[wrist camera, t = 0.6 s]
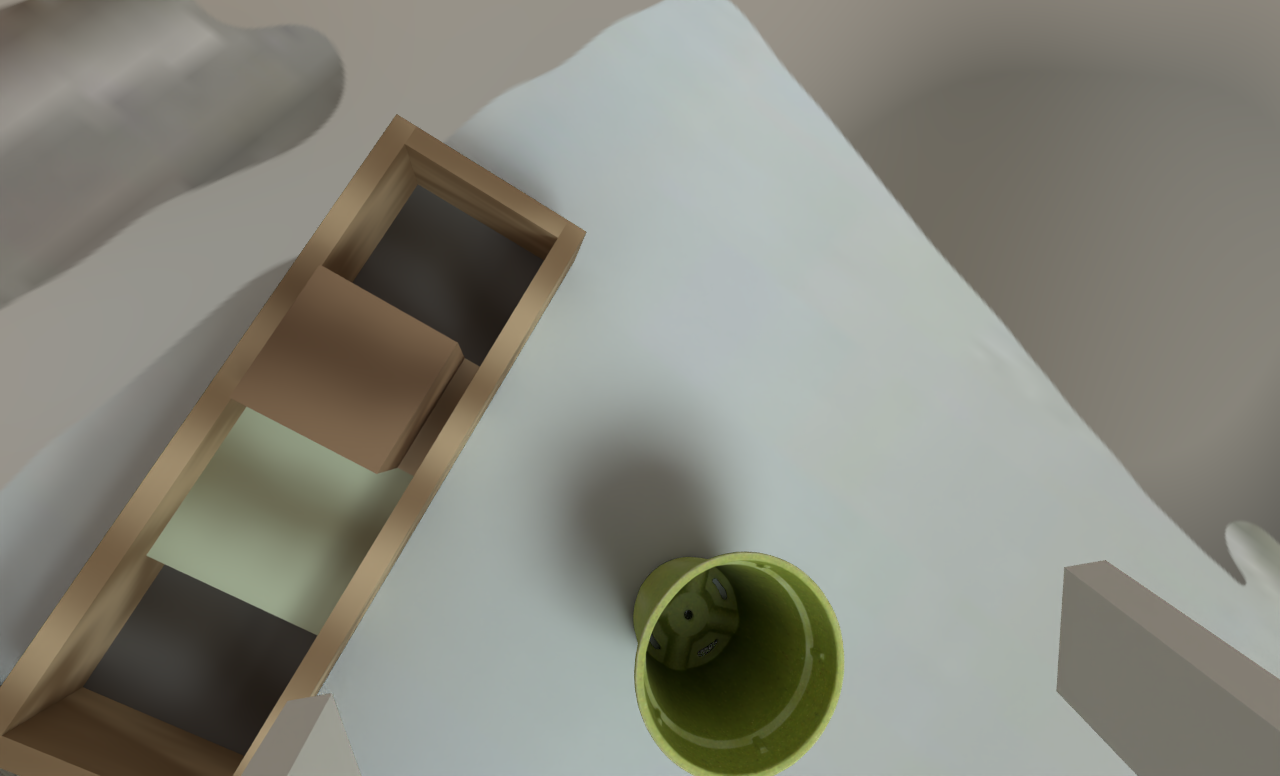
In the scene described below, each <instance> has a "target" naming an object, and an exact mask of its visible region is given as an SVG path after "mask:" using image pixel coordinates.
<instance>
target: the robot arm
mask: <svg viewBox="0 0 1280 776" xmlns="http://www.w3.org/2000/svg"><path fill="white" fill-rule="evenodd" d="M1056 691H1057V692H1058V693H1059V694H1060V695H1061V696H1062V697H1063V698H1064V700H1065V701H1066V702H1067V703H1068V704H1069V705H1070V706H1071V707H1072V708H1073V709H1074V710H1075V711H1076V712H1077V713H1078V714H1079V715H1080V716H1081V717H1082V718H1083V719H1084V720H1085V721H1086V722H1087V723H1088V724H1089V726H1090V727H1091V728H1092V729H1093V730H1094V731H1095V732H1096V733H1097V734H1098V735H1099V736H1100V737H1101V738H1102V739H1103V740H1104V741H1105V742H1106V743H1107V744H1108V745H1109V746H1110V747H1111V748H1112V749H1113V751H1114V752H1115V753H1116V754H1117V755H1118V756H1119V757H1120V758H1121V759H1122V760H1123V761H1124V762H1125V763H1126V764H1127V765H1128V766H1129V767H1130V768H1131V769H1132V770H1133V771H1134V772H1135V773H1136V774H1137V775H1138V776H1280V679H1278V678H1277V677H1275V676H1274V675H1272V674H1271V673H1269V672H1268V671H1266V670H1265V669H1263V668H1262V667H1261V666H1259V665H1258V664H1256V663H1255V662H1253V661H1252V660H1250V659H1249V658H1247V657H1246V656H1245V655H1243V654H1242V653H1240V652H1239V651H1237V650H1236V649H1234V648H1233V647H1231V646H1230V645H1228V644H1227V643H1226V642H1224V641H1223V640H1221V639H1220V638H1218V637H1217V636H1215V635H1214V634H1212V633H1211V632H1209V631H1208V630H1207V629H1205V628H1204V627H1202V626H1201V625H1199V624H1198V623H1196V622H1195V621H1193V620H1192V619H1191V618H1189V617H1188V616H1186V615H1185V614H1183V613H1182V612H1180V611H1179V610H1177V609H1176V608H1174V607H1173V606H1172V605H1170V604H1169V603H1167V602H1166V601H1164V600H1163V599H1161V598H1160V597H1158V596H1157V595H1155V594H1154V593H1153V592H1151V591H1150V590H1148V589H1147V588H1145V587H1144V586H1142V585H1141V584H1139V583H1138V582H1137V581H1135V580H1134V579H1132V578H1131V577H1129V576H1128V575H1126V574H1125V573H1123V572H1122V571H1120V570H1119V569H1118V568H1116V567H1115V566H1113V565H1112V564H1110V563H1109V562H1107V561H1106V560H1104V561H1098V562H1093V563H1087V564H1081V565H1075V566H1069V567H1064V580H1063V596H1062V612H1061V627H1060V643H1059V659H1058V675H1057V690H1056ZM241 776H361V773H360V770H359V768H358V765H357V762H356V759H355V756H354V754H353V751H352V748H351V745H350V743H349V740H348V737H347V734H346V731H345V729H344V726H343V723H342V720H341V717H340V715H339V712H338V709H337V706H336V703H335V701H334V698H333V695H332V693H331V694H325V695H319V696H313V697H307V698H301V699H296V700H290V701H287V703H286V704H285V706H284V707H283V709H282V711H281V712H280V714H279V715H278V717H277V719H276V720H275V722H274V723H273V725H272V727H271V728H270V730H269V732H268V733H267V735H266V736H265V738H264V740H263V741H262V743H261V744H260V746H259V748H258V749H257V751H256V752H255V754H254V756H253V757H252V759H251V760H250V762H249V764H248V765H247V767H246V768H245V770H244V772H243V773H242V775H241Z"/></svg>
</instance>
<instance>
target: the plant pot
mask: <svg viewBox="0 0 1280 776" xmlns="http://www.w3.org/2000/svg"><path fill="white" fill-rule="evenodd" d="M713 579H718V581H719V582H720V584H721V586H722V587H724V588H725V590H726V593H727V598H726V600H724V599H722V597H721V594H720V593H719V590H718V589H717V587H716V586H715V584H714V583H713V582H712V581H713ZM687 610H690V611H691V612H692V614H693V616H692V618H691V619H689V620H688V619H686V618H685V617H684V613H685V611H687ZM633 623H634V629H635V633H636V638H637V642H638V647H637V652H636V658H635V670H634V680H635V692H636V697H637V702H638V706H639V710H640V713H641V716H642V718H643V721H644V723H645V725H646V728H647V730H648V731H649V733H650V735H651V737H652V738H653V740H654V741H655V743H656V744H657V745H658V747H659V748H660V749H661V751H662V752H663V753H664V754H665V755H666V756H667V757H668V758H669V759H670V760H671V761H672V762H674V763H675V764H676V765H678V766H679V767H680V768H682V769H683V770H685V771H687V772H688V773H690V774H692V775H694V776H774V775H776V774H778V773H780V772H781V771H783V770H785V769H787V768H789V767H790V766H792V765H793V764H795V763H796V762H797V761H798V760H799V759H800V758H801V757H802V756H803V755H804V754H805V753H806V752H807V751H808V750H809V749H810V748H811V747H812V746H813V745H814V744H815V743H816V741H817V740H818V739H819V738H820V736H821V735H822V733H823V732H824V730H825V728H826V726H827V724H828V723H829V721H830V719H831V717H832V715H833V713H834V711H835V708H836V706H837V703H838V699H839V696H840V693H841V688H842V683H843V677H844V650H843V641H842V635H841V630H840V626H839V623H838V620H837V617H836V615H835V613H834V611H833V608H832V606H831V605H830V603H829V601H828V600H827V598H826V596H825V595H824V593H823V592H822V591H821V589H820V588H819V587H818V586H817V584H816V583H815V582H814V581H813V580H812V579H811V578H810V577H809V576H808V575H807V574H805V573H804V572H803V571H802V570H800V569H799V568H797V567H796V566H794V565H793V564H791V563H789V562H787V561H785V560H782V559H780V558H777V557H774V556H771V555H767V554H763V553H757V552H733V553H727V554H723V555H719V556H715V557H713V558H710V559H704V558H697V557H682V558H676V559H673V560H670V561H668V562H666V563H664V564H662V565H660V566H659V567H658V568H656V569H655V570H654V571H653V572H652V573H651V574H650V575H649V576H648V577H647V578H646V580H645V581H644V582H643V584H642V585H641V587H640V589H639V592H638V595H637V598H636V602H635V606H634V613H633ZM651 634H653V636H654V638H655V640H656V641H657V643H658V644H659V645H660V646H661V648H660V649H655V648H654V647H653V646H652V645H651V643H650V641H649V639H650V637H651ZM716 639H717V640H718V641H717V643H716V645H715V647H714V648H713V649H712V650H711V651H710V652H709V653H707V654H705V655H703V656H698V654H697V653H698V651H699V650H702V649H703V648H705V647H706V646H708V645H710V644H711V643H712V642H714V641H715V640H716Z"/></svg>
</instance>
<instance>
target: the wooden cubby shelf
mask: <svg viewBox="0 0 1280 776" xmlns="http://www.w3.org/2000/svg"><path fill="white" fill-rule="evenodd" d="M585 234H586V231H584V230H583V229H581V228H579V227H578V226H576V225H575V224H573V223H571V222H570V221H568V220H567V219H565V218H563V217H562V216H560V215H558V214H557V213H555V212H554V211H552V210H550V209H549V208H547V207H546V206H544V205H542V204H541V203H539V202H537V201H536V200H534V199H533V198H531V197H529V196H528V195H526V194H525V193H523V192H521V191H520V190H518V189H517V188H515V187H513V186H512V185H510V184H508V183H507V182H505V181H504V180H502V179H500V178H499V177H497V176H496V175H494V174H492V173H491V172H489V171H487V170H486V169H484V168H483V167H481V166H479V165H478V164H476V163H475V162H473V161H471V160H470V159H468V158H467V157H465V156H463V155H462V154H460V153H458V152H457V151H455V150H454V149H452V148H450V147H449V146H447V145H446V144H444V143H442V142H441V141H439V140H438V139H436V138H434V137H433V136H431V135H429V134H428V133H426V132H424V131H423V130H421V129H420V128H418V127H417V126H415V125H413V124H412V123H410V122H408V121H407V120H405V119H404V118H402V117H400V116H399V115H396V116H395V117H394V119H393V120H392V122H391V123H390V125H389V126H388V127H387V129H386V130H385V132H384V133H383V135H382V136H381V137H380V139H379V140H378V142H377V143H376V145H375V146H374V148H373V149H372V151H371V152H370V153H369V155H368V156H367V158H366V159H365V161H364V162H363V163H362V165H361V166H360V168H359V169H358V171H357V172H356V174H355V175H354V176H353V178H352V179H351V181H350V182H349V184H348V185H347V187H346V188H345V190H344V191H343V192H342V194H341V195H340V197H339V198H338V200H337V201H336V202H335V204H334V205H333V207H332V208H331V210H330V211H329V213H328V214H327V216H326V217H325V218H324V220H323V221H322V223H321V224H320V226H319V227H318V229H317V230H316V231H315V233H314V234H313V236H312V237H311V239H310V240H309V241H308V243H307V244H306V246H305V247H304V249H303V250H302V252H301V253H300V255H299V256H298V257H297V259H296V260H295V262H294V263H293V265H292V266H291V268H290V269H289V270H288V272H287V273H286V275H285V276H284V278H283V279H282V281H281V282H280V283H279V285H278V286H277V288H276V289H275V291H274V292H273V294H272V295H271V296H270V298H269V299H268V301H267V302H266V304H265V305H264V307H263V308H262V309H261V311H260V312H259V314H258V315H257V317H256V318H255V320H254V321H253V322H252V324H251V325H250V327H249V328H248V330H247V331H246V333H245V334H244V335H243V337H242V338H241V340H240V341H239V343H238V344H237V346H236V347H235V348H234V350H233V351H232V353H231V354H230V356H229V357H228V359H227V360H226V362H225V363H224V364H223V366H222V367H221V369H220V370H219V372H218V373H217V375H216V376H215V377H214V379H213V380H212V382H211V383H210V385H209V386H208V388H207V389H206V390H205V392H204V393H203V395H202V396H201V398H200V399H199V401H198V402H197V403H196V405H195V406H194V408H193V409H192V411H191V412H190V414H189V415H188V416H187V418H186V419H185V421H184V422H183V424H182V425H181V427H180V428H179V429H178V431H177V432H176V434H175V435H174V437H173V438H172V440H171V441H170V442H169V444H168V445H167V447H166V448H165V450H164V451H163V453H162V454H161V455H160V457H159V458H158V460H157V461H156V463H155V464H154V466H153V467H152V468H151V470H150V471H149V473H148V474H147V476H146V477H145V479H144V480H143V482H142V483H141V484H140V486H139V487H138V489H137V490H136V492H135V493H134V495H133V496H132V497H131V499H130V500H129V502H128V503H127V505H126V506H125V508H124V509H123V510H122V512H121V513H120V515H119V516H118V518H117V519H116V521H115V522H114V523H113V525H112V526H111V528H110V529H109V531H108V532H107V534H106V535H105V536H104V538H103V539H102V541H101V542H100V544H99V545H98V547H97V548H96V549H95V551H94V552H93V554H92V555H91V557H90V558H89V560H88V561H87V562H86V564H85V565H84V567H83V568H82V570H81V571H80V573H79V574H78V575H77V577H76V578H75V580H74V581H73V583H72V584H71V586H70V587H69V589H68V590H67V591H66V593H65V594H64V596H63V597H62V599H61V600H60V602H59V603H58V604H57V606H56V607H55V609H54V610H53V612H52V613H51V615H50V616H49V617H48V619H47V620H46V622H45V623H44V625H43V626H42V628H41V629H40V630H39V632H38V633H37V635H36V636H35V638H34V639H33V641H32V642H31V643H30V645H29V646H28V648H27V649H26V651H25V652H24V654H23V655H22V656H21V658H20V659H19V661H18V662H17V664H16V665H15V667H14V668H13V669H12V671H11V672H10V674H9V675H8V677H7V678H6V680H5V681H4V682H3V684H2V685H1V687H0V768H1V769H4V770H6V771H9V772H11V773H14V774H16V775H19V776H241V775H242V773H243V772H244V770H245V768H246V767H247V765H248V764H249V762H250V760H251V759H252V757H253V756H254V754H255V752H256V751H257V749H258V748H259V746H260V744H261V743H262V741H263V740H264V738H265V736H266V735H267V733H268V732H269V730H270V728H271V727H272V725H273V723H274V722H275V720H276V719H277V717H278V715H279V714H280V712H281V711H282V709H283V707H284V706H285V704H286V703H287V701H290V700H296V699H301V698H307V697H313V696H316V695H317V693H318V692H319V690H320V688H321V687H322V685H323V683H324V682H325V680H326V678H327V676H328V675H329V673H330V671H331V670H332V668H333V666H334V665H335V663H336V661H337V660H338V658H339V656H340V655H341V653H342V651H343V650H344V648H345V646H346V644H347V643H348V641H349V639H350V638H351V636H352V634H353V633H354V631H355V629H356V628H357V626H358V624H359V623H360V621H361V619H362V618H363V616H364V614H365V612H366V611H367V609H368V607H369V606H370V604H371V602H372V601H373V599H374V597H375V596H376V594H377V592H378V591H379V589H380V587H381V586H382V584H383V582H384V581H385V579H386V577H387V575H388V574H389V572H390V570H391V569H392V567H393V565H394V564H395V562H396V560H397V559H398V557H399V555H400V554H401V552H402V550H403V549H404V547H405V545H406V543H407V542H408V540H409V538H410V537H411V535H412V533H413V532H414V530H415V528H416V527H417V525H418V523H419V522H420V520H421V518H422V517H423V515H424V513H425V511H426V510H427V508H428V506H429V505H430V503H431V501H432V500H433V498H434V496H435V495H436V493H437V491H438V490H439V488H440V486H441V485H442V483H443V481H444V479H445V478H446V476H447V474H448V473H449V471H450V469H451V468H452V466H453V464H454V463H455V461H456V459H457V458H458V456H459V454H460V453H461V451H462V449H463V448H464V446H465V444H466V442H467V441H468V439H469V437H470V436H471V434H472V432H473V431H474V429H475V427H476V426H477V424H478V422H479V421H480V419H481V417H482V416H483V414H484V412H485V410H486V409H487V407H488V405H489V404H490V402H491V400H492V399H493V397H494V395H495V394H496V392H497V390H498V389H499V387H500V385H501V384H502V382H503V380H504V378H505V377H506V375H507V373H508V372H509V370H510V368H511V367H512V365H513V363H514V362H515V360H516V358H517V357H518V355H519V353H520V352H521V350H522V348H523V346H524V345H525V343H526V341H527V340H528V338H529V336H530V335H531V333H532V331H533V330H534V328H535V326H536V325H537V323H538V321H539V320H540V318H541V316H542V314H543V313H544V311H545V309H546V308H547V306H548V304H549V303H550V301H551V299H552V298H553V296H554V294H555V293H556V291H557V289H558V288H559V286H560V284H561V283H562V281H563V279H564V277H565V276H566V274H567V272H568V271H569V269H570V267H571V266H572V264H573V262H574V260H575V258H576V256H577V253H578V251H579V249H580V246H581V244H582V241H583V239H584V237H585ZM319 265H322V266H323V267H325V268H327V269H329V270H330V271H332V272H334V273H336V274H338V275H339V276H341V277H343V278H345V279H346V280H348V281H350V282H352V283H353V284H355V285H357V286H359V287H360V288H362V289H364V290H366V291H368V292H369V293H371V294H373V295H375V296H376V297H378V298H380V299H382V300H383V301H385V302H387V303H389V304H390V305H392V306H394V307H396V308H398V309H399V310H401V311H403V312H405V313H406V314H408V315H410V316H412V317H413V318H415V319H417V320H419V321H420V322H422V323H424V324H426V325H428V326H429V327H431V328H433V329H435V330H436V331H438V332H440V333H442V334H443V335H445V336H447V337H449V338H450V339H452V340H454V341H456V342H458V344H459V346H460V349H461V351H462V353H463V355H464V358H465V359H464V360H463V362H462V363H461V365H460V367H459V368H458V370H457V372H456V373H455V375H454V376H453V378H452V380H451V381H450V383H449V385H448V386H447V388H446V390H445V391H444V393H443V394H442V396H441V398H440V399H439V401H438V403H437V404H436V406H435V408H434V409H433V411H432V412H431V414H430V416H429V417H428V419H427V421H426V422H425V424H424V426H423V427H422V429H421V430H420V432H419V434H418V435H417V437H416V439H415V440H414V442H413V444H412V445H411V447H410V448H409V450H408V452H407V453H406V455H405V457H404V458H403V460H402V462H401V463H400V465H399V466H398V468H395V469H392V470H389V471H385V472H382V473H378V474H376V473H374V472H372V471H370V470H368V469H366V468H364V467H362V466H360V465H358V464H356V463H355V462H353V461H351V460H349V459H347V458H345V457H343V456H341V455H339V454H337V453H335V452H333V451H331V450H329V449H328V448H326V447H324V446H322V445H320V444H318V443H316V442H314V441H312V440H310V439H308V438H306V437H304V436H302V435H301V434H299V433H297V432H295V431H293V430H291V429H289V428H287V427H285V426H283V425H281V424H279V423H277V422H275V421H273V420H272V419H270V418H268V417H266V416H264V415H262V414H260V413H258V412H256V411H254V410H252V409H250V408H248V407H246V406H245V405H243V404H241V403H239V402H237V401H235V400H233V399H231V398H229V397H230V395H231V394H232V392H233V391H234V389H235V388H236V386H237V385H238V383H239V382H240V381H241V379H242V378H243V376H244V375H245V373H246V372H247V370H248V369H249V367H250V366H251V364H252V363H253V361H254V360H255V359H256V357H257V356H258V354H259V353H260V351H261V350H262V348H263V347H264V345H265V344H266V342H267V341H268V339H269V338H270V337H271V335H272V334H273V332H274V331H275V329H276V328H277V326H278V325H279V323H280V322H281V320H282V319H283V317H284V316H285V315H286V313H287V312H288V310H289V309H290V307H291V306H292V304H293V303H294V301H295V300H296V298H297V297H298V295H299V294H300V293H301V291H302V290H303V288H304V287H305V285H306V284H307V282H308V281H309V279H310V278H311V276H312V275H313V273H314V272H315V271H316V269H317V268H318V266H319Z"/></svg>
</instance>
